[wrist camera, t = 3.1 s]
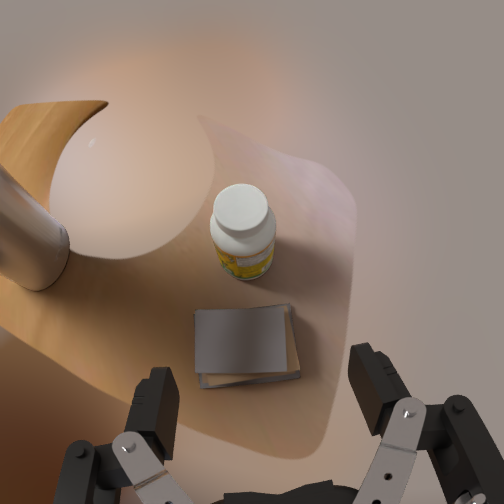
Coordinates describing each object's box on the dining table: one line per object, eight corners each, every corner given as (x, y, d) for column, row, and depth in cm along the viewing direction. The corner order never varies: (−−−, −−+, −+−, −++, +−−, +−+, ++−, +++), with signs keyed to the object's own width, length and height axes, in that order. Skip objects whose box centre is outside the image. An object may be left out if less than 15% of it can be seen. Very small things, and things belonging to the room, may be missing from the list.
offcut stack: (201, 388, 26) (192, 390, 22) (194, 315, 29) (184, 305, 25) (299, 377, 26) (306, 378, 23) (289, 304, 29) (294, 293, 25)
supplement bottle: (279, 274, 30) (287, 230, 21) (225, 286, 30) (211, 248, 21) (265, 226, 32) (267, 170, 23) (214, 237, 32) (198, 184, 23)
